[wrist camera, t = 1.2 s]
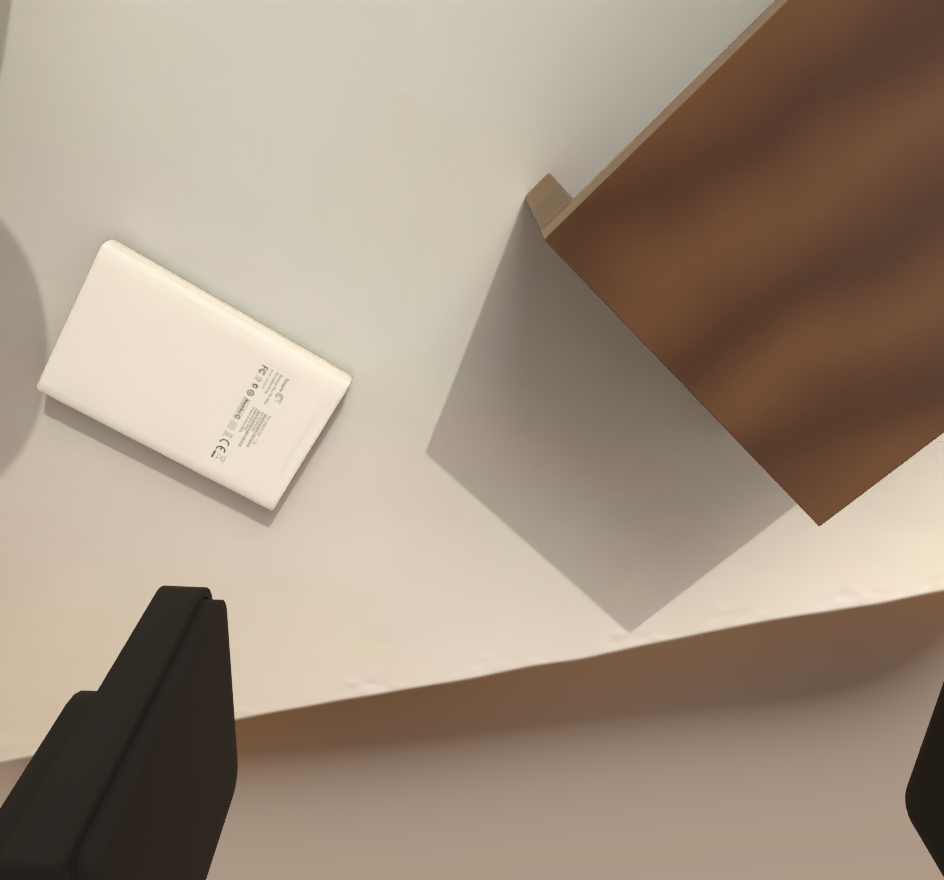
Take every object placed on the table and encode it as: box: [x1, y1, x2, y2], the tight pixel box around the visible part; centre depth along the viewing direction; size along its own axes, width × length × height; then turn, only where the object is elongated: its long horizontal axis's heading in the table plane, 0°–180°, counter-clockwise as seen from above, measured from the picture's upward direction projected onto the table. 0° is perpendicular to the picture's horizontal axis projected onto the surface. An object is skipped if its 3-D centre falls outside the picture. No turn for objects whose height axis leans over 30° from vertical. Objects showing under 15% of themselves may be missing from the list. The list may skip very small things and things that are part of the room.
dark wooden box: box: [525, 0, 944, 526], centre depth 33 cm, size 16×20×10 cm
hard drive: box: [36, 239, 352, 511], centre depth 40 cm, size 2×8×12 cm
